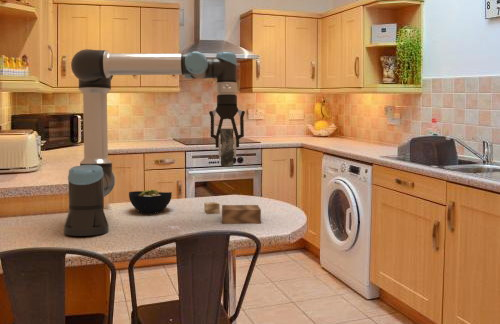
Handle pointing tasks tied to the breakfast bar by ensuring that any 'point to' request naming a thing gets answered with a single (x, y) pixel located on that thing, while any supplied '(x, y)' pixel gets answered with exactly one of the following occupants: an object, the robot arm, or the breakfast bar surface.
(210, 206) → the oak cube
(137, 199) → the bowl
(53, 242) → the breakfast bar surface
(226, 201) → the breakfast bar surface
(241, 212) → the plinth
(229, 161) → the stone block
